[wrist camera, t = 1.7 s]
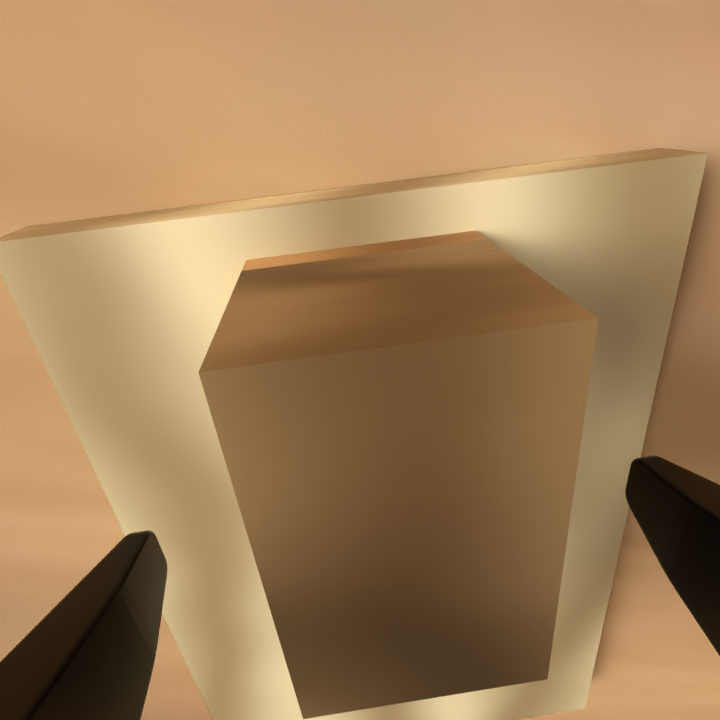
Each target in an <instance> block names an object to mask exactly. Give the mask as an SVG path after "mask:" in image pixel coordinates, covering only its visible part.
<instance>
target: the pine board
mask: <svg viewBox="0 0 720 720" xmlns="http://www.w3.org/2000/svg"><path fill="white" fill-rule="evenodd" d="M707 155H708V153H701V152H692V151H683V150H673V149H664V148H659V149H651V150H643V151H635V152H627V153H619V154H611V155H603V156H595V157H587V158H579V159H571V160H563V161H555V162H546V163H538V164H530V165H522V166H514V167H506V168H498V169H490V170H482V171H474V172H466V173H458V174H450V175H441V176H433V177H425V178H417V179H409V180H401V181H393V182H385V183H377V184H369V185H361V186H353V187H345V188H337V189H328V190H320V191H312V192H304V193H296V194H288V195H280V196H272V197H264V198H256V199H248V200H240V201H232V202H223V203H215V204H207V205H199V206H191V207H183V208H175V209H167V210H159V211H151V212H143V213H135V214H127V215H118V216H110V217H102V218H94V219H86V220H78V221H70V222H62V223H54V224H46V225H38V226H30V227H24V228H22V229H20V230H17V231H15V232H12V233H10V234H7V235H5V236H3V237H0V273H1V275H2V277H3V279H4V281H5V283H6V286H7V288H8V290H9V292H10V294H11V296H12V298H13V300H14V302H15V304H16V307H17V309H18V311H19V313H20V315H21V317H22V319H23V321H24V323H25V326H26V328H27V330H28V332H29V334H30V336H31V338H32V340H33V342H34V344H35V347H36V349H37V351H38V353H39V355H40V357H41V359H42V361H43V363H44V366H45V368H46V370H47V372H48V374H49V376H50V378H51V380H52V382H53V384H54V387H55V389H56V391H57V393H58V395H59V397H60V399H61V401H62V403H63V406H64V408H65V410H66V412H67V414H68V416H69V418H70V420H71V422H72V424H73V427H74V429H75V431H76V433H77V435H78V437H79V439H80V441H81V443H82V446H83V448H84V450H85V452H86V454H87V456H88V458H89V460H90V462H91V464H92V467H93V469H94V471H95V473H96V475H97V477H98V479H99V481H100V483H101V485H102V488H103V490H104V492H105V494H106V496H107V498H108V500H109V502H110V504H111V507H112V509H113V511H114V513H115V515H116V517H117V519H118V521H119V523H120V525H121V528H122V530H123V532H124V534H125V536H126V535H128V534H130V533H134V532H140V531H147V530H149V531H153V532H154V533H155V535H156V537H157V539H158V542H159V544H160V546H161V549H162V551H163V553H164V556H165V558H166V561H167V580H166V587H165V594H164V601H163V608H162V614H163V616H164V618H165V620H166V622H167V624H168V626H169V629H170V631H171V633H172V635H173V637H174V639H175V641H176V643H177V645H178V648H179V650H180V652H181V654H182V656H183V658H184V660H185V662H186V664H187V666H188V669H189V671H190V673H191V675H192V677H193V679H194V681H195V683H196V685H197V688H198V690H199V692H200V694H201V696H202V698H203V700H204V702H205V704H206V706H207V709H208V711H209V713H210V715H211V717H212V719H213V720H516V719H522V718H528V717H534V716H540V715H546V714H552V713H558V712H564V711H570V710H576V709H583V708H585V705H586V701H587V696H588V692H589V687H590V683H591V678H592V674H593V669H594V665H595V660H596V656H597V651H598V647H599V642H600V638H601V633H602V629H603V624H604V620H605V615H606V611H607V606H608V602H609V597H610V593H611V588H612V584H613V579H614V575H615V570H616V566H617V561H618V557H619V552H620V548H621V543H622V539H623V534H624V530H625V525H626V521H627V516H628V512H629V505H628V503H627V500H626V496H625V489H626V484H627V479H628V475H629V470H630V465H631V462H632V461H633V460H634V459H636V458H640V457H641V453H642V448H643V444H644V439H645V435H646V430H647V426H648V421H649V417H650V412H651V408H652V403H653V399H654V394H655V390H656V385H657V381H658V376H659V372H660V367H661V363H662V358H663V354H664V349H665V345H666V340H667V336H668V331H669V327H670V322H671V318H672V313H673V309H674V304H675V300H676V295H677V291H678V286H679V282H680V277H681V273H682V268H683V264H684V259H685V255H686V250H687V246H688V241H689V236H690V232H691V227H692V223H693V218H694V214H695V209H696V205H697V200H698V196H699V191H700V187H701V182H702V178H703V173H704V169H705V164H706V160H707ZM468 231H477V232H478V233H480V234H481V235H483V236H484V237H485V238H487V239H488V240H490V241H491V242H492V243H494V244H495V245H497V246H498V247H499V248H501V249H502V250H504V251H505V252H506V253H508V254H509V255H511V256H512V257H513V258H515V259H516V260H518V261H519V262H520V263H522V264H523V265H525V266H526V267H527V268H529V269H530V270H532V271H533V272H534V273H536V274H537V275H539V276H540V277H541V278H543V279H544V280H546V281H547V282H548V283H550V284H551V285H553V286H554V287H555V288H557V289H558V290H560V291H561V292H563V293H564V294H565V295H567V296H568V297H570V298H571V299H572V300H574V301H575V302H577V303H578V304H579V305H581V306H582V307H584V308H585V309H586V310H588V311H589V312H591V313H592V314H593V315H595V316H596V317H598V324H597V331H596V338H595V345H594V352H593V360H592V367H591V374H590V381H589V388H588V395H587V402H586V409H585V416H584V423H583V431H582V438H581V445H580V452H579V459H578V466H577V473H576V480H575V487H574V494H573V502H572V509H571V516H570V523H569V530H568V537H567V544H566V551H565V558H564V565H563V573H562V580H561V587H560V594H559V601H558V608H557V615H556V622H555V629H554V636H553V644H552V651H551V658H550V665H549V672H548V679H547V680H541V681H535V682H529V683H522V684H516V685H510V686H504V687H498V688H492V689H486V690H479V691H473V692H467V693H461V694H455V695H449V696H443V697H437V698H430V699H424V700H418V701H412V702H406V703H400V704H394V705H387V706H381V707H375V708H369V709H363V710H357V711H351V712H344V713H338V714H332V715H326V716H320V717H314V718H308V719H303V717H302V714H301V711H300V707H299V704H298V701H297V697H296V694H295V691H294V687H293V684H292V681H291V678H290V674H289V671H288V668H287V664H286V661H285V658H284V654H283V651H282V648H281V644H280V641H279V638H278V634H277V631H276V628H275V625H274V621H273V618H272V615H271V611H270V608H269V605H268V601H267V598H266V595H265V591H264V588H263V585H262V581H261V578H260V575H259V572H258V568H257V565H256V562H255V558H254V555H253V552H252V548H251V545H250V542H249V538H248V535H247V532H246V528H245V525H244V522H243V519H242V515H241V512H240V509H239V505H238V502H237V499H236V495H235V492H234V489H233V485H232V482H231V479H230V475H229V472H228V469H227V466H226V462H225V459H224V456H223V452H222V449H221V446H220V442H219V439H218V436H217V432H216V429H215V426H214V422H213V419H212V416H211V413H210V409H209V406H208V403H207V399H206V396H205V393H204V389H203V386H202V383H201V379H200V376H199V373H198V372H199V370H200V368H201V365H202V363H203V360H204V358H205V356H206V353H207V351H208V349H209V346H210V344H211V342H212V339H213V337H214V335H215V332H216V330H217V327H218V325H219V323H220V320H221V318H222V316H223V313H224V311H225V309H226V306H227V304H228V302H229V299H230V297H231V294H232V292H233V290H234V287H235V285H236V283H237V280H238V278H239V276H240V273H241V271H242V269H243V266H244V264H245V262H246V260H249V259H257V258H265V257H273V256H281V255H288V254H296V253H304V252H312V251H320V250H327V249H335V248H343V247H351V246H359V245H366V244H374V243H382V242H390V241H398V240H405V239H413V238H421V237H429V236H436V235H444V234H452V233H460V232H468Z"/></svg>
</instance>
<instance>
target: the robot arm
mask: <svg viewBox="0 0 720 720" xmlns="http://www.w3.org/2000/svg"><path fill="white" fill-rule="evenodd" d="M625 496H626V500H627V503H628V505H629V507H630V509H631V510H632V512H633V514H634V516H635V518H636V520H637V522H638V524H639V525H640V527H641V529H642V531H643V533H644V535H645V537H646V538H647V540H648V542H649V544H650V546H651V548H652V550H653V552H654V553H655V555H656V557H657V559H658V561H659V563H660V565H661V566H662V568H663V570H664V572H665V573H666V575H667V577H668V579H669V580H670V582H671V583H672V585H673V586H674V588H675V590H676V591H677V593H678V594H679V596H680V597H681V599H682V600H683V602H684V603H685V605H686V606H687V608H688V609H689V611H690V612H691V614H692V615H693V617H694V618H695V620H696V621H697V623H698V624H699V626H700V627H701V629H702V630H703V632H704V633H705V635H706V636H707V637H708V639H709V640H710V642H711V643H712V645H713V646H714V648H715V649H716V651H717V652H718V654H719V655H720V485H719V484H716V483H714V482H712V481H710V480H708V479H706V478H704V477H701V476H699V475H697V474H695V473H693V472H691V471H689V470H686V469H684V468H682V467H680V466H678V465H676V464H674V463H671V462H669V461H667V460H665V459H663V458H661V457H658V456H648V457H641V458H636V459H634V460H633V461H632V462H631V465H630V470H629V475H628V479H627V484H626V489H625ZM166 580H167V561H166V558H165V556H164V553H163V551H162V549H161V546H160V544H159V542H158V539H157V537H156V535H155V533H154V532H153V531H149V530H147V531H140V532H134V533H130V534H128V535H126V536H125V537H124V538H123V539H122V540H121V541H120V542H119V543H118V544H117V545H116V546H115V547H114V548H113V549H112V550H111V551H110V552H109V553H108V554H107V555H106V556H105V557H104V558H103V559H102V560H101V561H100V562H99V563H98V564H97V565H96V566H95V567H94V568H93V569H92V570H91V571H90V572H89V573H88V574H87V575H86V576H85V577H84V578H83V579H82V580H81V581H80V582H79V583H78V584H77V585H76V586H75V587H74V588H73V589H72V590H71V591H70V592H69V593H68V594H67V595H66V596H65V597H64V598H63V599H62V600H61V601H60V602H59V603H58V604H57V605H56V606H55V607H54V608H53V609H52V610H51V611H50V612H49V613H48V614H47V615H46V616H45V617H44V618H43V619H42V620H41V621H40V622H39V623H38V624H37V625H36V626H35V627H34V628H33V629H32V631H31V632H30V633H29V634H28V635H27V636H26V637H25V638H24V639H23V640H22V641H21V642H20V643H19V644H18V645H17V646H16V647H15V648H14V649H13V650H12V651H11V652H10V653H9V654H8V655H7V656H6V657H5V658H4V659H3V660H2V661H1V662H0V720H140V719H141V715H142V711H143V707H144V703H145V699H146V695H147V691H148V687H149V683H150V679H151V675H152V670H153V666H154V661H155V656H156V650H157V644H158V636H159V629H160V622H161V615H162V608H163V601H164V594H165V587H166Z"/></svg>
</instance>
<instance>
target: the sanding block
mask: <svg viewBox="0 0 720 720" xmlns="http://www.w3.org/2000/svg"><path fill="white" fill-rule="evenodd" d="M597 324H598V317H596V316H595V315H593V314H592V313H591V312H589V311H588V310H586V309H585V308H584V307H582V306H581V305H579V304H578V303H577V302H575V301H574V300H572V299H571V298H570V297H568V296H567V295H565V294H564V293H563V292H561V291H560V290H558V289H557V288H555V287H554V286H553V285H551V284H550V283H548V282H547V281H546V280H544V279H543V278H541V277H540V276H539V275H537V274H536V273H534V272H533V271H532V270H530V269H529V268H527V267H526V266H525V265H523V264H522V263H520V262H519V261H518V260H516V259H515V258H513V257H512V256H511V255H509V254H508V253H506V252H505V251H504V250H502V249H501V248H499V247H498V246H497V245H495V244H494V243H492V242H491V241H490V240H488V239H487V238H485V237H484V236H483V235H481V234H480V233H478V232H477V231H468V232H460V233H452V234H444V235H436V236H429V237H421V238H413V239H405V240H398V241H390V242H382V243H374V244H366V245H359V246H351V247H343V248H335V249H327V250H320V251H312V252H304V253H296V254H288V255H281V256H273V257H265V258H257V259H249V260H246V262H245V264H244V266H243V269H242V271H241V273H240V276H239V278H238V280H237V283H236V285H235V287H234V290H233V292H232V294H231V297H230V299H229V302H228V304H227V306H226V309H225V311H224V313H223V316H222V318H221V320H220V323H219V325H218V327H217V330H216V332H215V335H214V337H213V339H212V342H211V344H210V346H209V349H208V351H207V353H206V356H205V358H204V360H203V363H202V365H201V368H200V370H199V372H198V373H199V376H200V379H201V383H202V386H203V389H204V393H205V396H206V399H207V403H208V406H209V409H210V413H211V416H212V419H213V422H214V426H215V429H216V432H217V436H218V439H219V442H220V446H221V449H222V452H223V456H224V459H225V462H226V466H227V469H228V472H229V475H230V479H231V482H232V485H233V489H234V492H235V495H236V499H237V502H238V505H239V509H240V512H241V515H242V519H243V522H244V525H245V528H246V532H247V535H248V538H249V542H250V545H251V548H252V552H253V555H254V558H255V562H256V565H257V568H258V572H259V575H260V578H261V581H262V585H263V588H264V591H265V595H266V598H267V601H268V605H269V608H270V611H271V615H272V618H273V621H274V625H275V628H276V631H277V634H278V638H279V641H280V644H281V648H282V651H283V654H284V658H285V661H286V664H287V668H288V671H289V674H290V678H291V681H292V684H293V687H294V691H295V694H296V697H297V701H298V704H299V707H300V711H301V714H302V717H303V719H308V718H314V717H320V716H326V715H332V714H338V713H344V712H351V711H357V710H363V709H369V708H375V707H381V706H387V705H394V704H400V703H406V702H412V701H418V700H424V699H430V698H437V697H443V696H449V695H455V694H461V693H467V692H473V691H479V690H486V689H492V688H498V687H504V686H510V685H516V684H522V683H529V682H535V681H541V680H547V679H548V672H549V665H550V658H551V651H552V644H553V636H554V629H555V622H556V615H557V608H558V601H559V594H560V587H561V580H562V573H563V565H564V558H565V551H566V544H567V537H568V530H569V523H570V516H571V509H572V502H573V494H574V487H575V480H576V473H577V466H578V459H579V452H580V445H581V438H582V431H583V423H584V416H585V409H586V402H587V395H588V388H589V381H590V374H591V367H592V360H593V352H594V345H595V338H596V331H597Z"/></svg>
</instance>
